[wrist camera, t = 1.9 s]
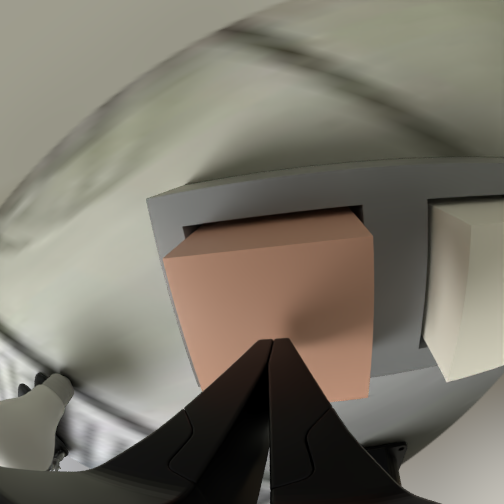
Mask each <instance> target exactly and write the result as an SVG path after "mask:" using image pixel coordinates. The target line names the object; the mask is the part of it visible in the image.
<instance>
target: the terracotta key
mask: <svg viewBox="0 0 504 504" xmlns="http://www.w3.org/2000/svg"><path fill="white" fill-rule="evenodd" d="M163 263H164V267H165V271H166V275H167V279H168V282H169V286H170V290H171V293H172V297H173V301H174V304H175V308H176V311H177V314H178V318H179V321H180V325H181V328H182V331H183V334H184V338H185V341H186V344H187V347H188V350H189V353H190V356H191V360H192V363H193V366H194V369H195V372H196V374H197V377H198V380H199V383H200V386H201V389H202V392H203V391H204V390H205V389H206V388H207V387H208V386H209V385H210V384H212V383H213V382H214V381H215V380H216V379H217V378H218V377H219V376H220V375H221V374H223V373H224V372H225V371H226V370H227V369H228V368H229V367H230V366H231V365H232V364H233V363H234V362H236V361H237V360H238V359H239V358H240V357H241V356H242V355H243V354H244V353H245V352H246V351H247V350H248V349H249V348H250V347H251V346H252V345H253V344H254V343H256V342H257V341H258V340H260V339H273V340H274V339H276V338H289V339H290V340H291V342H292V343H293V345H294V346H295V348H296V350H297V351H298V353H299V354H300V356H301V358H302V359H303V361H304V362H305V364H306V366H307V367H308V369H309V370H310V372H311V374H312V375H313V377H314V378H315V380H316V382H317V383H318V385H319V386H320V388H321V390H322V391H323V393H324V394H325V396H326V397H327V399H328V401H329V402H335V401H344V400H353V399H361V398H368V392H369V383H370V371H371V358H372V343H373V320H374V248H373V235H372V234H371V233H370V232H369V230H368V229H367V228H366V227H365V226H364V225H363V223H362V222H361V221H360V220H359V219H358V218H357V216H356V215H355V214H354V213H353V212H352V211H351V210H350V208H349V207H348V206H344V207H334V208H324V209H315V210H306V211H297V212H289V213H280V214H272V215H264V216H256V217H248V218H240V219H232V220H225V221H217V222H210V223H204V224H203V225H201V226H200V227H199V228H198V229H197V230H196V231H194V232H193V233H192V234H191V235H190V236H188V237H187V238H186V239H185V240H184V241H182V242H181V243H180V244H179V245H178V246H177V247H175V248H174V249H173V250H172V251H171V252H170V253H168V254H167V255H166V256H165V257H164V258H163Z"/></svg>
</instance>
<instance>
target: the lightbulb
mask: <svg viewBox="0 0 504 504" xmlns="http://www.w3.org/2000/svg"><path fill="white" fill-rule="evenodd" d="M73 395H74V389H73V387H72V385H71V382H70V380H69V379H68V378H67V377H65V376H62V375H60V374H52V375H51V376H50V377H49V378H48V379H47V380H46V381H44V382H43V384H42V385H37V386H36V387H34V388H33V389H32V390H31V391H30V392H28V393H27V394H25V395H23V396H20V397H18V398H12V399H7V400H3V401H0V466H2V467H8V468H17V469H27V470H39V471H46V470H47V469H48V468H49V466H50V465H51V462H52V460H53V456H54V447H55V432H56V428H57V425H58V423H59V421H60V419H61V417H62V416H63V414H64V412H65V407H66V405H67V404H68V403H69V401H70V400H71V398H72V396H73Z"/></svg>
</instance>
